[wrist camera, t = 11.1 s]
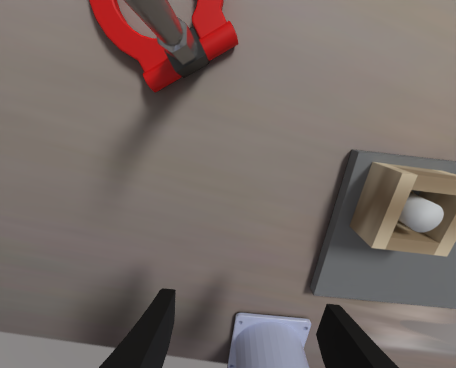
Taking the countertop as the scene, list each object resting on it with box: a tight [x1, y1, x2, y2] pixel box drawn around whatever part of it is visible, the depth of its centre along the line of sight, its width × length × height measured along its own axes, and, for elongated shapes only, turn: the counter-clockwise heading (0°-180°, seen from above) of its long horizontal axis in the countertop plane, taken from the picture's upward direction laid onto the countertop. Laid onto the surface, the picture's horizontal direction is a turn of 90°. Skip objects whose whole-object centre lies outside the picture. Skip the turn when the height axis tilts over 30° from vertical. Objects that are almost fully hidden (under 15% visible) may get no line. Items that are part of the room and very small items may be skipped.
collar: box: [350, 162, 456, 257], centre depth 16 cm, size 6×6×3 cm
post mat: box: [310, 150, 456, 309], centre depth 18 cm, size 14×16×4 cm
